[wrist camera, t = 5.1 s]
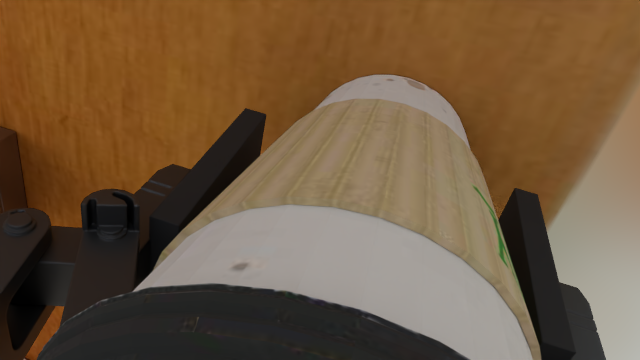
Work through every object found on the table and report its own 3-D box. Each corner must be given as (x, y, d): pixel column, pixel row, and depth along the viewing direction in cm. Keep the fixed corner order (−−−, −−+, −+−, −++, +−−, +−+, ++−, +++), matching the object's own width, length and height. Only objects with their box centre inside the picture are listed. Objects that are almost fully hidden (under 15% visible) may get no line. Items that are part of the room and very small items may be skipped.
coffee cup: (372, 284, 23) (272, 760, 11) (217, 130, 21) (-140, 514, 8) (576, 174, 18) (827, 822, 6) (402, -44, 16) (201, 265, 4)
